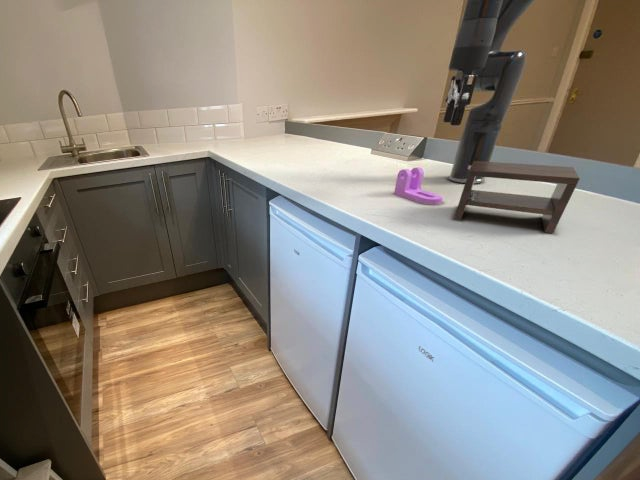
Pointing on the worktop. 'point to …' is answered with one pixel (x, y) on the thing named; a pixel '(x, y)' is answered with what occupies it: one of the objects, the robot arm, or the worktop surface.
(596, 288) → the worktop surface
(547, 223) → the shelf
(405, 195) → the bracket
